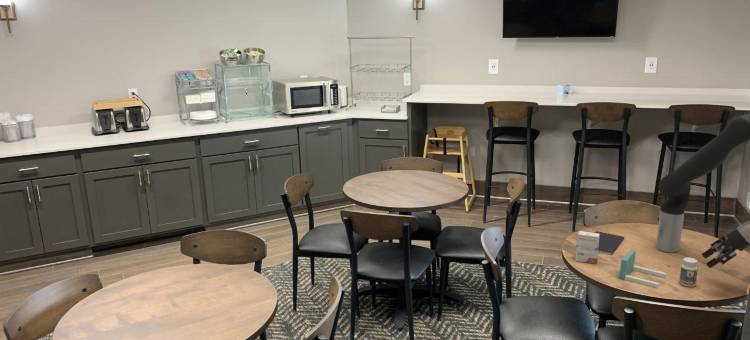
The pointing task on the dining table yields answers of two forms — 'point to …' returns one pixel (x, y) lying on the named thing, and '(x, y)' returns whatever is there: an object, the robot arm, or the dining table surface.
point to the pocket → (628, 266)
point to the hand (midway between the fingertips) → (705, 261)
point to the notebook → (609, 242)
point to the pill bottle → (688, 272)
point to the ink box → (587, 247)
